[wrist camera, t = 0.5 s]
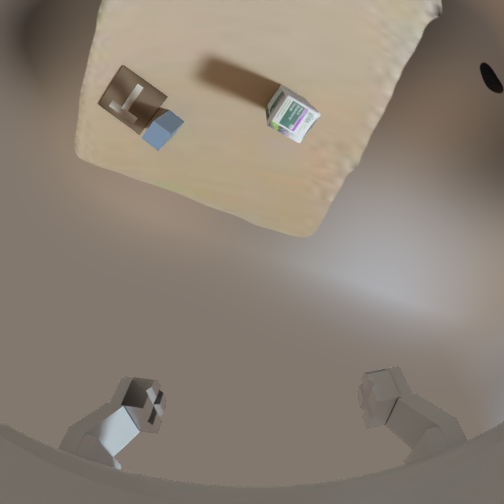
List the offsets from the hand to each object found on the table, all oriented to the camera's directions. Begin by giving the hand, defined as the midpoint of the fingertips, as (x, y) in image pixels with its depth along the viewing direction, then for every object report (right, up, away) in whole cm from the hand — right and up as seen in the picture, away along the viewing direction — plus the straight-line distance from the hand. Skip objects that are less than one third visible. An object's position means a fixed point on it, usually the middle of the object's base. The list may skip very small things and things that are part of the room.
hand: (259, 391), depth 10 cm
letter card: (-24, +36, +37) cm, 57 cm away
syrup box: (+6, +33, +38) cm, 51 cm away
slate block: (-16, +31, +41) cm, 54 cm away
